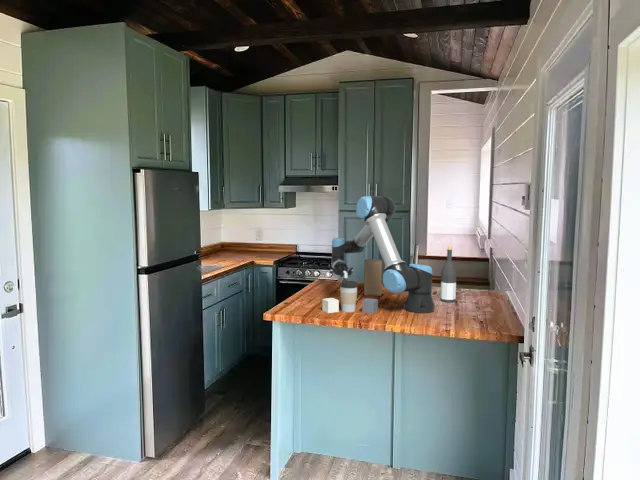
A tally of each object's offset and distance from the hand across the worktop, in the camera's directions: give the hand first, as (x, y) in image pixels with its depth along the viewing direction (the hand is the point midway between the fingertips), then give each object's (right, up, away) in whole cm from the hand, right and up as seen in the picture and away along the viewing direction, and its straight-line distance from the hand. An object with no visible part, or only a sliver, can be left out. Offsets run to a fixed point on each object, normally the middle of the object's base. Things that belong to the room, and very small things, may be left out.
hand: (346, 275), depth 249 cm
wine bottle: (+57, -15, +15) cm, 61 cm away
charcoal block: (+12, -18, -8) cm, 23 cm away
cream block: (-8, -17, -8) cm, 21 cm away
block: (+17, -13, +31) cm, 38 cm away
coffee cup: (+1, -17, -7) cm, 19 cm away
